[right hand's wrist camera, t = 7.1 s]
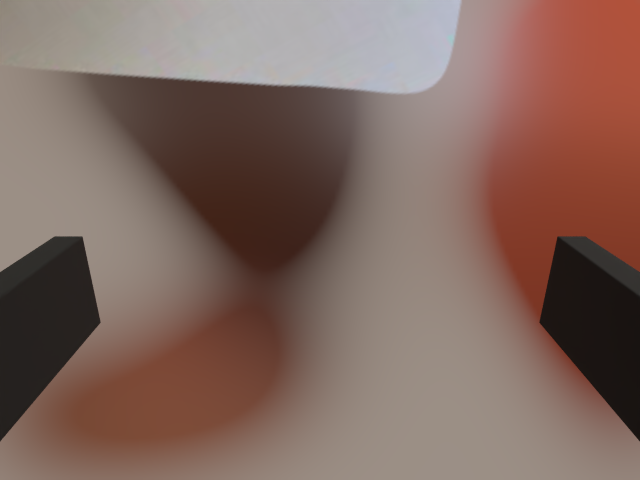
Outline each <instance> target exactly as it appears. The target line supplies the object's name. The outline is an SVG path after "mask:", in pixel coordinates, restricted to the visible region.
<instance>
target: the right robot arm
mask: <svg viewBox="0 0 640 480" xmlns="http://www.w3.org/2000/svg"><path fill="white" fill-rule="evenodd" d="M99 324H100V318H99V313H98V308H97V303H96V299H95V294H94V289H93V285H92V280H91V275H90V270H89V266H88V261H87V256H86V251H85V247H84V242H83V237H53V238H52V239H50V240H49V241H47V242H46V243H44V244H43V245H41V246H39V247H38V248H36V249H35V250H33V251H32V252H30V253H29V254H27V255H26V256H24V257H23V258H21V259H20V260H18V261H17V262H15V263H14V264H12V265H10V266H9V267H7V268H6V269H4V270H3V271H1V272H0V441H1V440H2V438H3V437H4V436H5V435H6V434H7V433H8V431H9V430H10V429H11V428H12V427H13V425H14V424H15V423H16V422H17V421H18V420H19V418H20V417H21V416H22V415H23V414H24V413H25V411H26V410H27V409H28V408H29V407H30V405H31V404H32V403H33V402H34V401H35V399H36V398H37V397H38V396H39V395H40V394H41V392H42V391H43V390H44V389H45V388H46V386H47V385H48V384H49V383H50V382H51V381H52V379H53V378H54V377H55V376H56V375H57V373H58V372H59V371H60V370H61V369H62V367H63V366H64V365H65V364H66V363H67V362H68V360H69V359H70V358H71V357H72V356H73V355H74V353H75V352H76V351H77V350H78V349H79V347H80V346H81V345H82V344H83V343H84V341H85V340H86V339H87V338H88V337H89V335H90V334H91V333H92V332H93V331H94V330H95V328H96V327H97V326H98V325H99ZM540 324H541V325H542V326H543V327H544V328H545V330H546V331H547V332H548V333H549V334H550V336H551V337H552V338H553V339H554V340H555V341H556V343H557V344H558V345H559V346H560V347H561V349H562V350H563V351H564V352H565V353H566V354H567V356H568V357H569V358H570V359H571V360H572V362H573V363H574V364H575V365H576V366H577V367H578V369H579V370H580V371H581V372H582V373H583V375H584V376H585V377H586V378H587V379H588V380H589V382H590V383H591V384H592V385H593V386H594V388H595V389H596V390H597V391H598V392H599V394H600V395H601V396H602V397H603V398H604V399H605V401H606V402H607V403H608V404H609V405H610V407H611V408H612V409H613V410H614V411H615V412H616V414H617V415H618V416H619V417H620V418H621V420H622V421H623V422H624V423H625V424H626V425H627V427H628V428H629V429H630V430H631V431H632V433H633V434H634V435H635V436H636V437H637V439H638V440H639V441H640V272H639V271H637V270H636V269H634V268H633V267H631V266H629V265H628V264H626V263H625V262H623V261H622V260H620V259H619V258H617V257H616V256H614V255H613V254H611V253H610V252H608V251H607V250H605V249H604V248H602V247H600V246H599V245H597V244H596V243H594V242H593V241H591V240H590V239H588V238H587V237H557V242H556V247H555V251H554V256H553V261H552V266H551V270H550V275H549V280H548V284H547V289H546V294H545V299H544V303H543V308H542V313H541V318H540Z"/></svg>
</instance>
